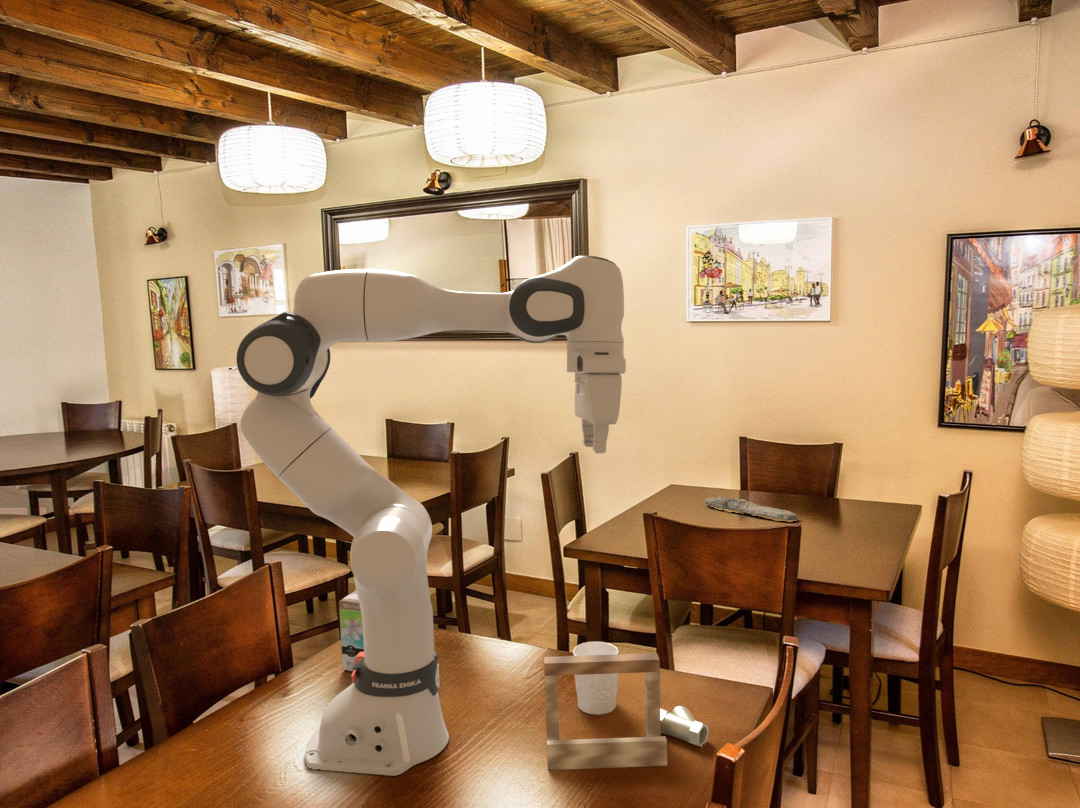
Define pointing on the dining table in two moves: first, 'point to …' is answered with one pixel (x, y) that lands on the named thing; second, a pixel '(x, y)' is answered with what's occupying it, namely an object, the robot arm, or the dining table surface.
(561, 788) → the dining table surface
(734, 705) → the dining table surface
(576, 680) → the white cup
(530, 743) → the dining table surface
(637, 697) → the dining table surface
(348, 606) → the tea box
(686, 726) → the pipe fitting
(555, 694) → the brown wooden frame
